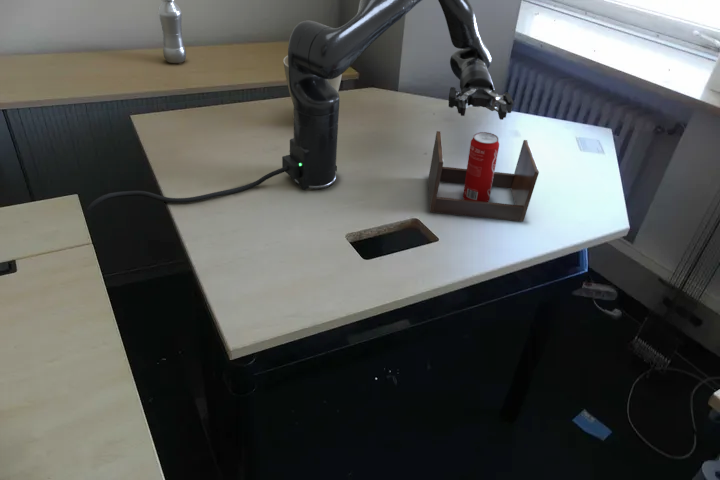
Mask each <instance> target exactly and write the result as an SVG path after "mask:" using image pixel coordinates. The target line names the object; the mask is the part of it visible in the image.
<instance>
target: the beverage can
mask: <svg viewBox="0 0 720 480" xmlns="http://www.w3.org/2000/svg"><path fill="white" fill-rule="evenodd" d="M499 148H500V141H499V137H498V135H496V134H494V133H491V132H487V131H480V132H476V133H474V134H473V137H472V139H471V140H470V145H469V150H468V151H469V152H468V159H467V165H466V169H467V171H466V178H465V184H463V192H462V193H463V194H462V199H463V200H473V201H483V202H490V200H491V193H492V188H493V187H492V183H493V177H494V172H496V166H497V159H498V155H499Z"/></svg>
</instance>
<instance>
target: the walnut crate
mask: <svg viewBox="0 0 720 480" xmlns="http://www.w3.org/2000/svg"><path fill="white" fill-rule="evenodd" d="M515 165H516V166H515V169H514V172H513V173H511V172H510V173H509V172H499V171H495V172H494V177H493V183H492V188H501V189H510V190H511V194H512V195H511V196H512V198H513V203H514V204H513V203H512V204H510V203H502V202H493V201H491V202H490V201H488V202H483V201H473V200H464V199H463V198H454V197H452V198H451V197H442V196H438V193H439V188H440V182H442V183H451V184H452V183H453V184H461V185H465V178H466V171H467V168H461V167H450V166H444V154H443V145H442V135H441V131H439V130H437V131H436V132H435V139H434V145H433V149H432V157H431V161H430V166H429V174H428V177H427V178H428V197H429V198H428V199H429V212H430V213H437V214H445V215H455V216H464V217H465V216H466V217H473V218H484V219H494V220H495V219H496V220H504V221H513V222H525V218H526V214H527V211H528V208H529V205H530V202H531V199H532V196H533V192H534V189H535V186H536V183H537V180H538V177H539V174H540V171H539V169H538V168H539V167H538V166H537V163H536V159H535V158H534V155H533V151H532V149H531V146H530V144H529V142H528V139H523V141H522V145H521V148H520V152H519V154H518V159H517V162H516V164H515Z"/></svg>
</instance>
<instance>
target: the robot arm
mask: <svg viewBox="0 0 720 480" xmlns="http://www.w3.org/2000/svg"><path fill="white" fill-rule="evenodd" d="M422 1H423V0H359V4H358V9H357V13H356V14H355V15H354V16H353V18H351V19H350V20H349V21H348V22H346V23H344V24H343V25H341V26H339V27H336V28H335V27H331V26H328V25H325V24H323V23H320V22H318V21H314V20H309V19H308V20H303V21H301V22H298V23H297V24H296V26H294V28H293V29H292V32H291V34H290V36H289V41H288V45H287V55H288V68H289V85H290V92H291V94H292V97H293V100H294V106H293V138H290V139H289V154H287V155H283V156H282V157H281V165H282V167H280V168H278V169H276V170H273V171H271V172H269V173H266V174H264V175H262V176H261V177H260V178H259V179H257V180H255V181H253V182H250V183H247V184H245V185H242V186H238V187H233V188H230V189H224V190H220V191H215V192H209V193H205V194H202V195H197V196H191V197H168V196H162V195H159V194H157V193H154V192H150V191H145V190H127V191H117V192H116V191H115V192H114V191H113V192H109V193H106V194H103V195H100V196H99V197H97V198H96V199H94V200H93V201H92V202H91V203H90V204H89V205H88V206H87V208H86V211H88V212H89V211H93V210H94V209H95V208H96V207H97V206H98V205H99V204H101V203H103V202H104V201H106V200H110V199H114V198H120V197H133V196H136V197H137V196H138V197H139V196H140V197H146V198H150V199H153V200H157V201H159V202H160V201H161V202H164V203H170V204H187V203H194V202H199V201H204V200H208V199H213V198H217V197H222V196H227V195H233V194H236V193H240V192H244V191H247V190H249V189H250V190H251V189H252V188H255V187H257V186H259V185H261V184H262V183H264V182H265V181H267V180H269V179H270V178H273V177H275V176H277V175H280V174H283V173H286V174H287V175H288V176H289V178H290V179H291V180H292V181H293V182H294V183H295V184H296V185H297V186H299V187H300V188H301V189H302V190H303V191H306V190H323V189H327V188H330V187H332V185H334V184H335V183H336V180H337V175H336V174H337V173H338V166H337V152H338V133H339V118H340V117H339V116H340V115H339V113H340V94H339V91H338V92H337V91H336V89H335V88H334V87H333V86H332V85H331V84H330V83H329V81H328V80H327V79H334V78H336V77H338V76H340V75H341V74H342V75H343V74H344V73H345V72H346V71H347V70H348V69H349V68H350V67H351V66H352V65H353V64H354V63H355V62H356V61H357V60H358V59H359V57H360V56H361V55H362V54H363V53H364V52H365V51H366V50H367V49H368V48H369V47H370V46H371V45H372V44H373V43H374V42H375V41H376V40H377V39H379V38H380V37H381V36H382V35H383V34H384V33H385V32H386V31H387V30H388V29H390V28H391V27H392V26H393V25H394V24H396V23H397V22H398V21H400V20H401V19H403V18H404V16H406V15H407V14H408V13H409V12H411V11H412V9H414V8H415V7H416V6H417V5H418V4H419V3H421V2H422ZM437 1H438V3H439V5H440V8H441V9H442V10H441V11H442V13H443V15H444V18H445V22H446V27H447V29H448V34H449V37H450V41H451V44H452V46H453V47H454V48H455V49H458V50H455V51H454V52H453V53H452V54H451V56H450V58H449V65H450V69H451V71H452V73H453V75H454V76H455V77H456V78H457V79H458V80H459V89H460V91H459V90H458V89H457V88H456V87H454V86H451V87H449V94H448V108H451V109H452V108H454V107H456V109H457V113H458V114H460V116H461V117H465V115H466V110H467V109H468V108H471V107H472V108H473V107H474V108H479V107H482V108H486V109H487V110H489V111H491V112H494V111H495V112H497V115H498V118H499V120H500V121H501V120H502V121H503V120H504V119H506V118H507V114H511V113H512V110H513V106H514V103H515V102H514V100H513V99H512V95H511V94H510V93H509V92H508V91H507V92H503V94H498V92H497V91H495V86H494V83H493V79H492V76H491V74H490V72H489V70H488V69H489V68H490V66H491V64H492V55H491V53H490V50H489V48H488V46H487V45H486V43H485V42H484V40H483V38H482V37H481V34H480V31H479V28H478V23H477V19H476V14H475V11H474V8H473V6H472V4H471V3H470V1H469V0H437ZM290 92H289V93H290Z"/></svg>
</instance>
